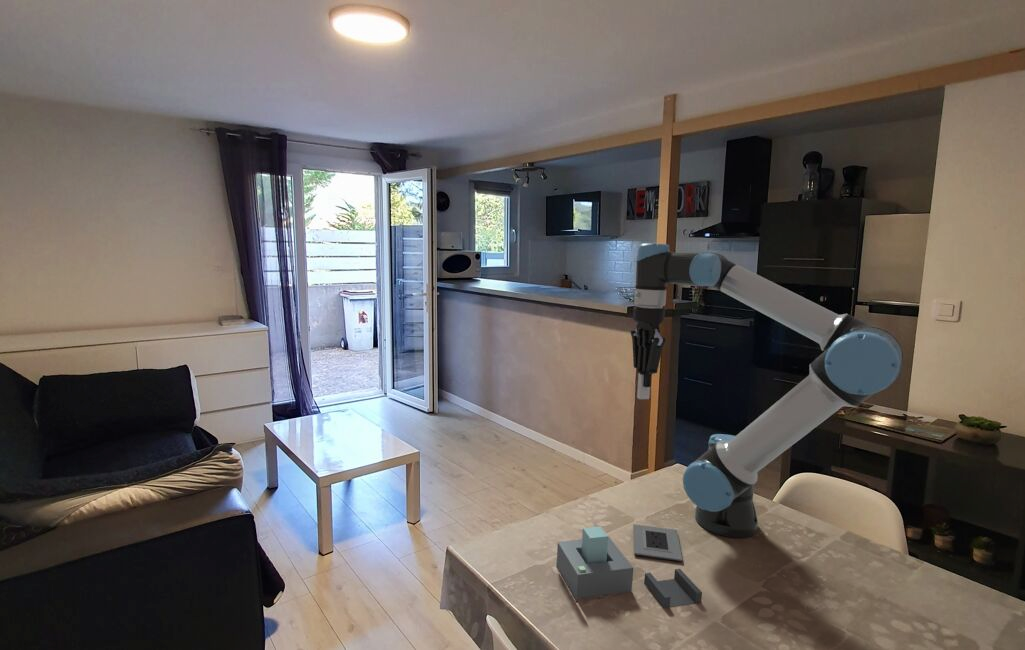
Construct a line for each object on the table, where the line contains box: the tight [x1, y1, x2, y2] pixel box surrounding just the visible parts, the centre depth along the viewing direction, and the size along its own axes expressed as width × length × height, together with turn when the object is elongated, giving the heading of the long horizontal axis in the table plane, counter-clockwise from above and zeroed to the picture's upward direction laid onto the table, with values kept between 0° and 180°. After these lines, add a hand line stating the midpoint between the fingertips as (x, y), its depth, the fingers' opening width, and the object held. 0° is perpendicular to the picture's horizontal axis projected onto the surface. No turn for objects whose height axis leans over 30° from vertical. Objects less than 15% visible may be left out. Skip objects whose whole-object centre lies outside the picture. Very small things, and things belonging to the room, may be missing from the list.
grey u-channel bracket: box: [643, 568, 703, 609], centre depth 109 cm, size 8×8×3 cm
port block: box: [556, 535, 634, 603], centre depth 113 cm, size 12×12×6 cm
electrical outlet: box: [632, 523, 684, 563], centre depth 127 cm, size 13×10×2 cm
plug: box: [581, 526, 609, 564], centre depth 113 cm, size 4×4×10 cm
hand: (643, 398), depth 137 cm, fingers closed
